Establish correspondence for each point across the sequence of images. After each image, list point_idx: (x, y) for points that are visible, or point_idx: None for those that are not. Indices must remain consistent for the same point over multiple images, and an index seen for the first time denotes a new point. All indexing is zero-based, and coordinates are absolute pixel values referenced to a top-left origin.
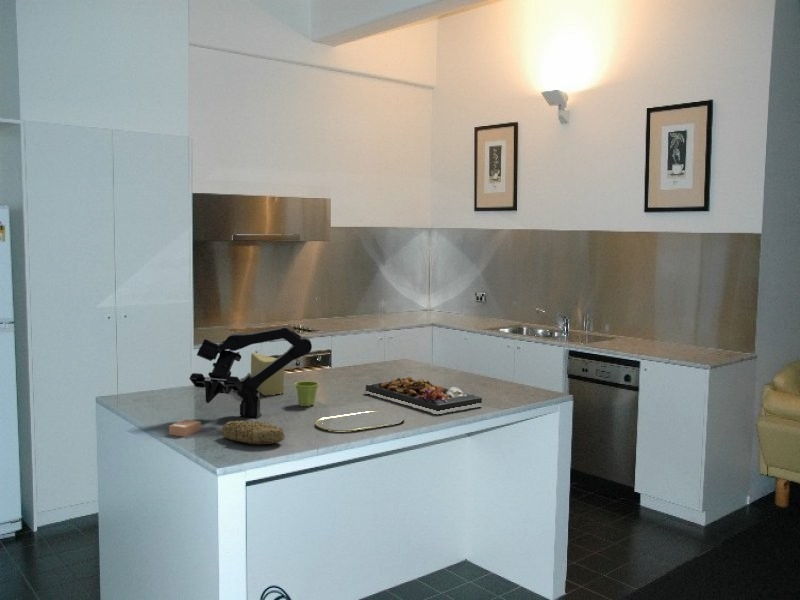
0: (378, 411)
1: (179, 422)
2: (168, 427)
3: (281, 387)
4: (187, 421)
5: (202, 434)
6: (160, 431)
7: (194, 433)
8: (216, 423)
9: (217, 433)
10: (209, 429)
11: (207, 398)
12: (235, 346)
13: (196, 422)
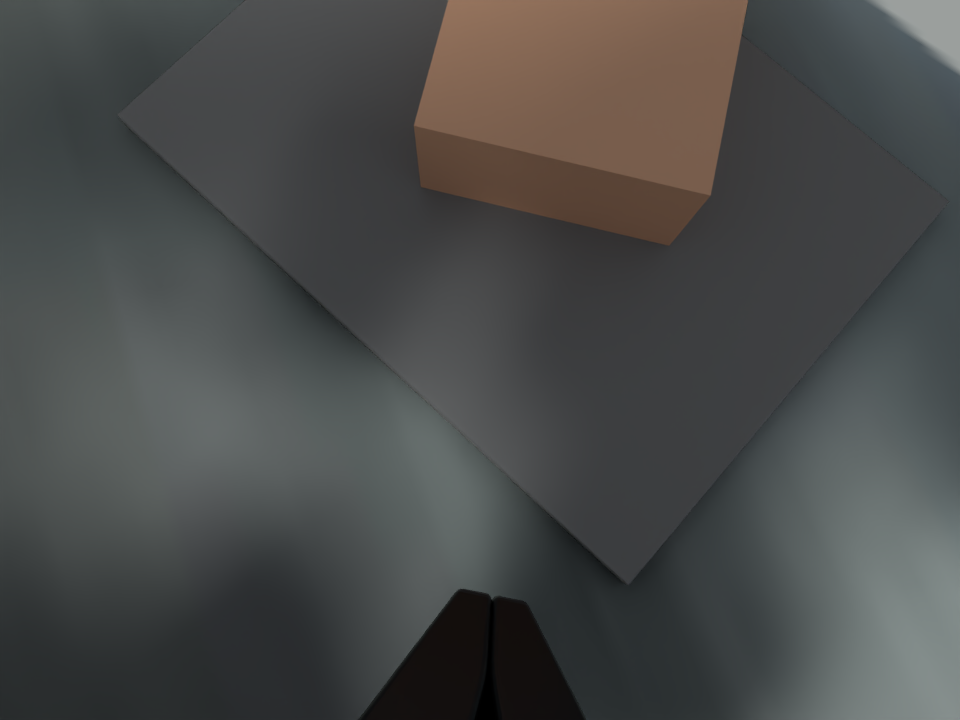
0: None
1: (725, 4)
2: (919, 233)
3: None
4: (633, 89)
5: (326, 6)
6: (940, 111)
7: None
8: None
9: (143, 92)
10: (318, 256)
11: (484, 648)
12: None
13: (466, 61)
